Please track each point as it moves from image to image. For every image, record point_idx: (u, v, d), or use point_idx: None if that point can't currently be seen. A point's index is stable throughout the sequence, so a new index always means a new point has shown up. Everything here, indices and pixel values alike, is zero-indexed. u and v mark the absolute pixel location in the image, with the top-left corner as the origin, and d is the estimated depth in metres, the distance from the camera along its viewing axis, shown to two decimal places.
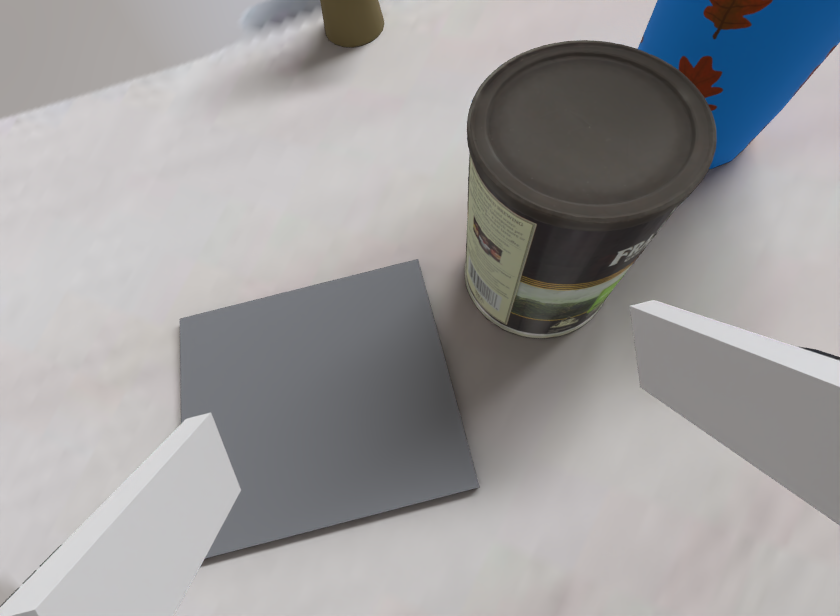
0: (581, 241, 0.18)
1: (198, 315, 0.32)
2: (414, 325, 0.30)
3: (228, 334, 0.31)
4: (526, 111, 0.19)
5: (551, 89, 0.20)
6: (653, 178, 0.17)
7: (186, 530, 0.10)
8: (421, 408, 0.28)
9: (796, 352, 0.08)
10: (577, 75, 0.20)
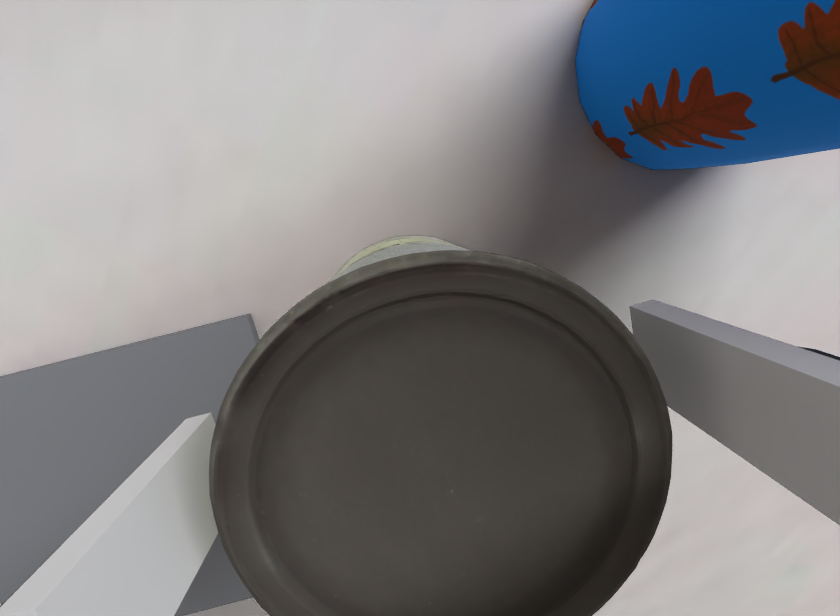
0: None
1: None
2: None
3: None
4: (333, 449, 0.09)
5: (389, 395, 0.09)
6: (536, 594, 0.10)
7: (186, 530, 0.10)
8: None
9: (796, 352, 0.08)
10: (448, 357, 0.09)
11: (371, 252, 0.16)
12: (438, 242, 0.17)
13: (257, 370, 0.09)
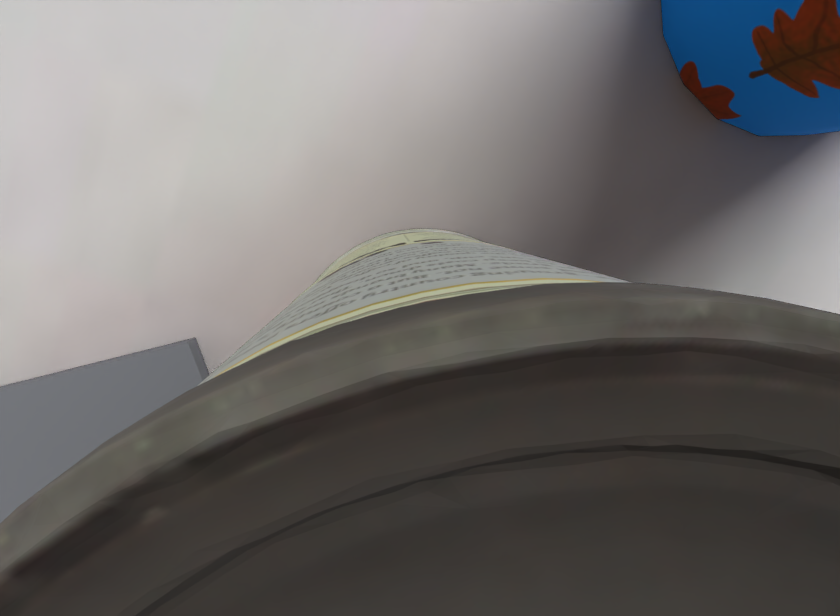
0: None
1: None
2: None
3: None
4: None
5: None
6: None
7: None
8: None
9: None
10: None
11: (359, 256, 0.10)
12: (469, 240, 0.10)
13: None
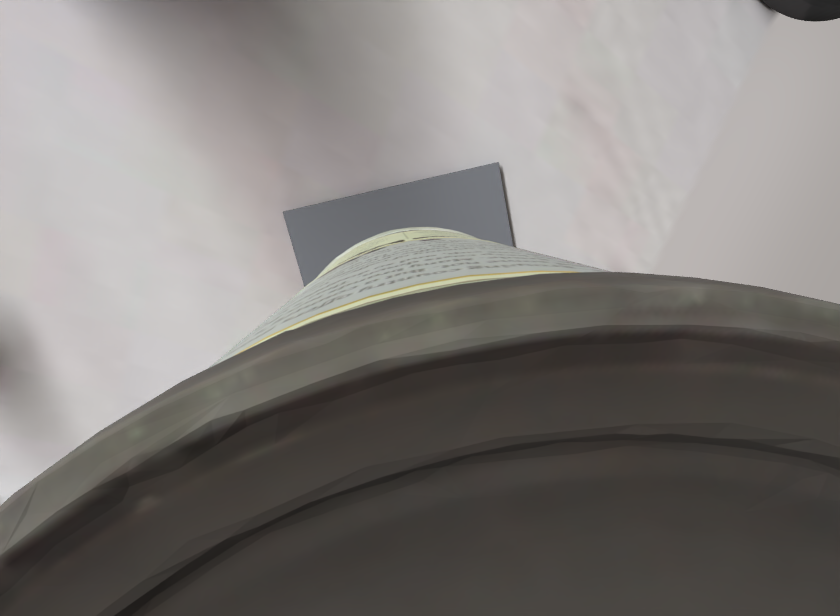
0: None
1: None
2: (355, 215, 0.31)
3: None
4: None
5: None
6: None
7: None
8: (433, 210, 0.32)
9: None
10: None
11: (358, 254, 0.10)
12: (467, 237, 0.10)
13: None
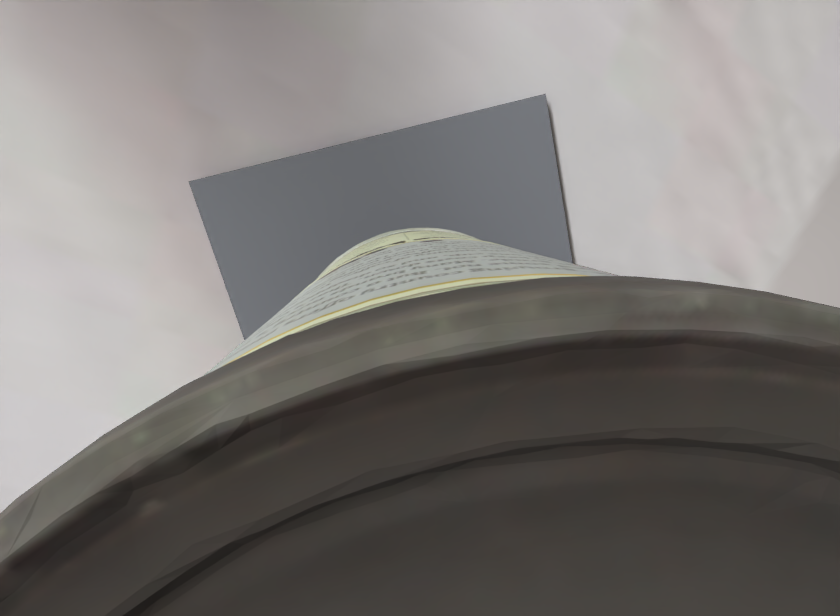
0: None
1: None
2: (311, 187, 0.19)
3: None
4: None
5: None
6: None
7: None
8: (439, 176, 0.19)
9: None
10: None
11: (359, 255, 0.10)
12: (468, 238, 0.10)
13: None
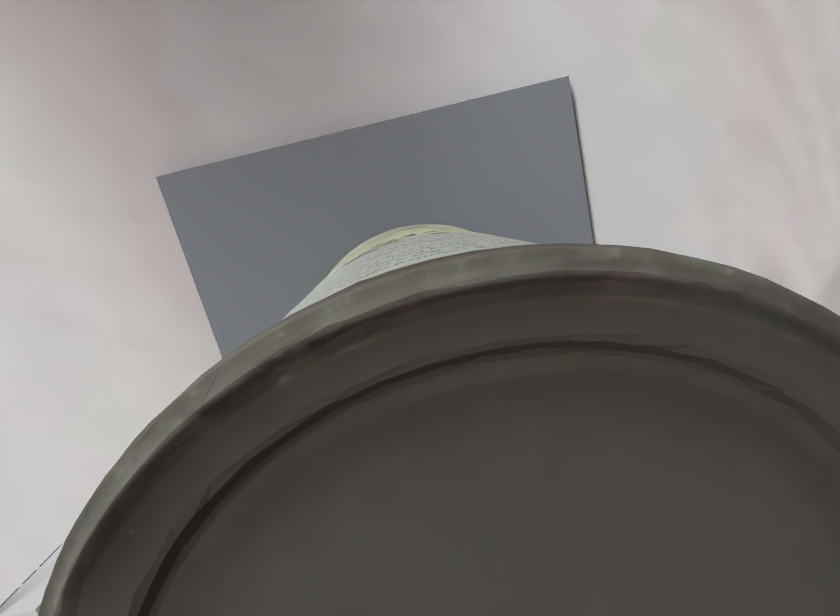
0: None
1: None
2: (298, 183, 0.17)
3: None
4: None
5: (421, 559, 0.04)
6: None
7: None
8: (445, 170, 0.17)
9: None
10: (553, 482, 0.04)
11: (375, 246, 0.11)
12: None
13: (119, 522, 0.04)
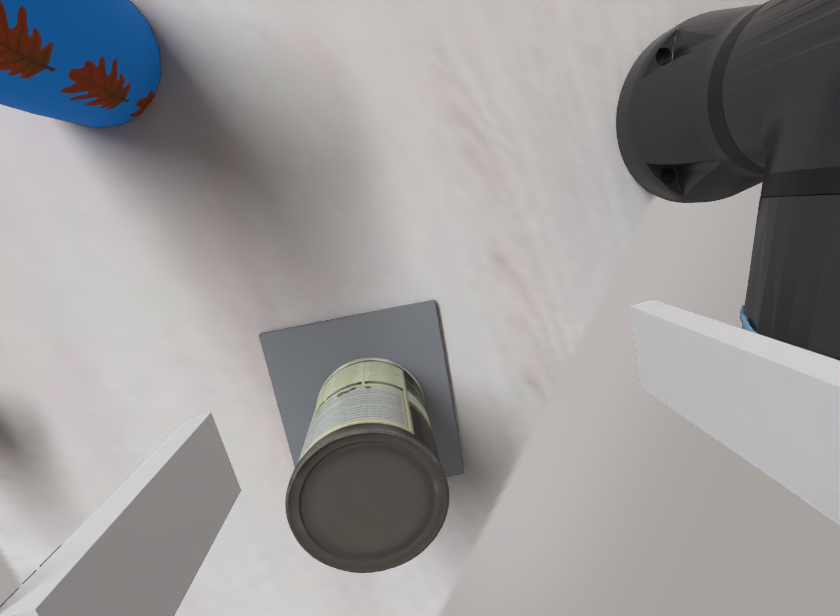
0: None
1: None
2: (318, 339, 0.39)
3: None
4: (329, 489, 0.27)
5: (349, 472, 0.27)
6: (400, 543, 0.28)
7: (186, 530, 0.10)
8: (381, 336, 0.39)
9: (796, 352, 0.08)
10: (370, 461, 0.27)
11: (348, 385, 0.34)
12: (381, 381, 0.34)
13: (305, 464, 0.26)
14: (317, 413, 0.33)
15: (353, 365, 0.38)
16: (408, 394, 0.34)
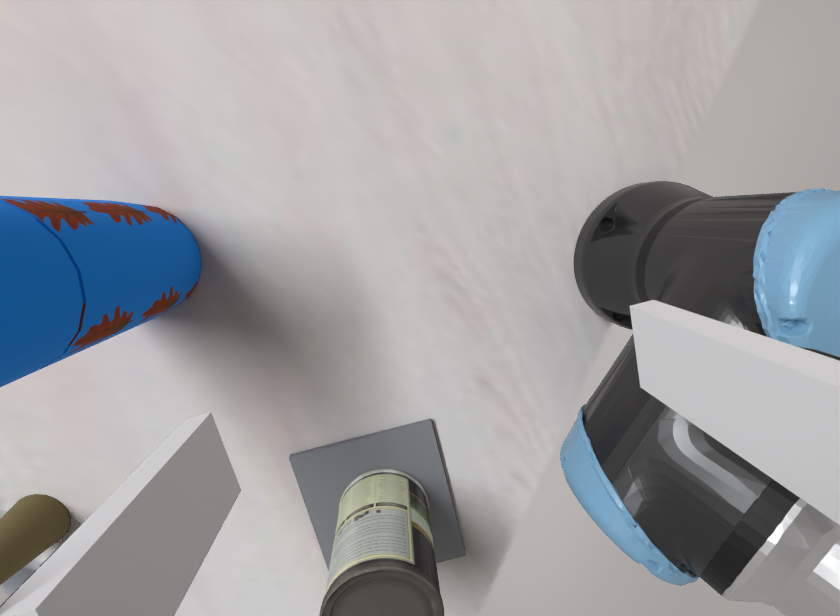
0: None
1: None
2: (337, 457, 0.47)
3: None
4: (351, 611, 0.35)
5: (365, 598, 0.35)
6: None
7: (186, 530, 0.10)
8: (389, 451, 0.48)
9: (796, 352, 0.08)
10: (381, 589, 0.35)
11: (363, 507, 0.42)
12: (389, 501, 0.43)
13: (332, 595, 0.35)
14: (339, 533, 0.41)
15: (367, 479, 0.47)
16: (411, 511, 0.42)
